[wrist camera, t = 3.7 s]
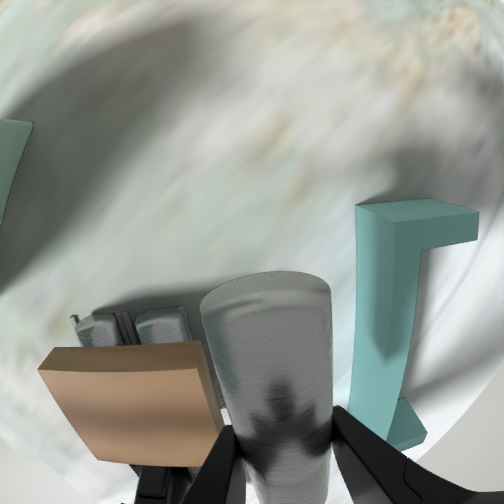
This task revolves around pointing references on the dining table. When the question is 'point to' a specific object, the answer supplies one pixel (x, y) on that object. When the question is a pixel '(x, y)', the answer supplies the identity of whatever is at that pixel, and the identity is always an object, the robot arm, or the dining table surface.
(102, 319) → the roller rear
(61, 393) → the slab
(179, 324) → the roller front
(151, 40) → the dining table surface
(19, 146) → the planter
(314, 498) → the roller
